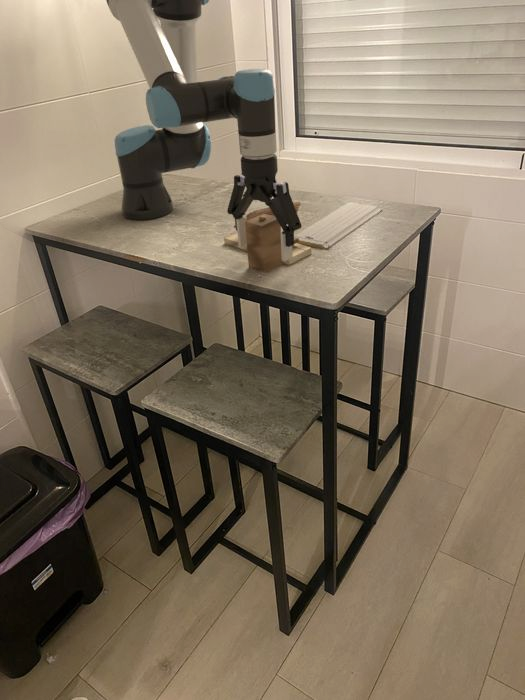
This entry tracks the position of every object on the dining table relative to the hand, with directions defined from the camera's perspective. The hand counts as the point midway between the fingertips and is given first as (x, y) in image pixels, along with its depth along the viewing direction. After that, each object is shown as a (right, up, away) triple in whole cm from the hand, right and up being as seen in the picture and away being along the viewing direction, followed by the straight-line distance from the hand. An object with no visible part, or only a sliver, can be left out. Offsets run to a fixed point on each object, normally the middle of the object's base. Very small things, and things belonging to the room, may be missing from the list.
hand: (264, 252), depth 120 cm
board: (0, +3, +10) cm, 11 cm away
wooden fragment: (+2, +16, +31) cm, 35 cm away
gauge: (+3, -1, +4) cm, 5 cm away
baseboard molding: (+20, +10, +21) cm, 31 cm away
